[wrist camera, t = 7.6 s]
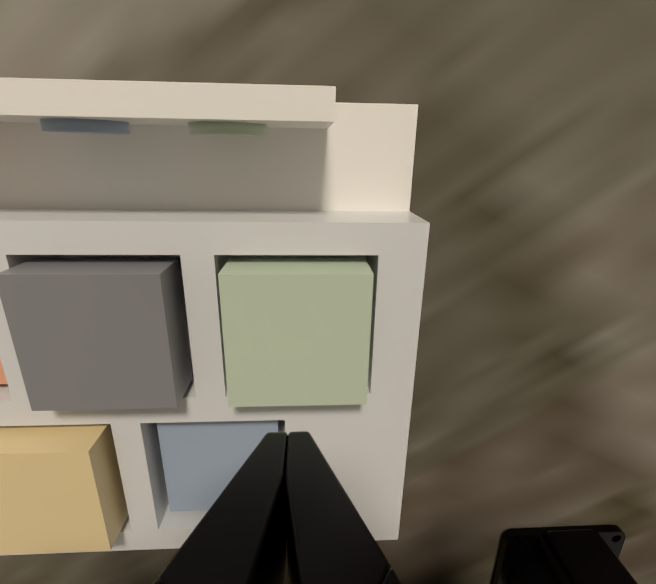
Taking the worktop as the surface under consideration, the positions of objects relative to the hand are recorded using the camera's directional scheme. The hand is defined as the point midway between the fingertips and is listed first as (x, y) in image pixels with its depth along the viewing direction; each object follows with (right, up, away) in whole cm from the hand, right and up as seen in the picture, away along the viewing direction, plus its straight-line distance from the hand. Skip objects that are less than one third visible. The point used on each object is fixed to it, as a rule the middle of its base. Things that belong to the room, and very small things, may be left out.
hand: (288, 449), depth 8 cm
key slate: (-3, -3, +9) cm, 10 cm away
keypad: (-6, +2, +8) cm, 11 cm away
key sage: (0, +2, +6) cm, 6 cm away
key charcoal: (-6, +2, +5) cm, 9 cm away
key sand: (-9, -3, +7) cm, 12 cm away
